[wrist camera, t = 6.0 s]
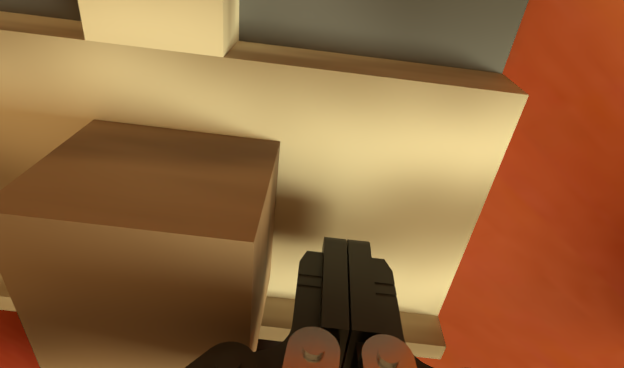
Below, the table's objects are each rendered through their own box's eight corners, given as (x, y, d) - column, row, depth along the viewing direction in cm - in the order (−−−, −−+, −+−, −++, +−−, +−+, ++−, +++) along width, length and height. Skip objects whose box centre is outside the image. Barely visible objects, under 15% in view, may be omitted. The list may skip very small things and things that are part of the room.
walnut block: (93, 119, 13) (-27, 210, 8) (280, 141, 13) (253, 242, 9) (121, 258, 16) (43, 375, 12) (270, 275, 16) (247, 397, 12)
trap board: (-642, -401, 9) (-1196, -594, 6) (607, -230, 10) (750, -320, 6) (-203, 213, 19) (-321, 273, 15) (421, 285, 19) (440, 359, 16)
